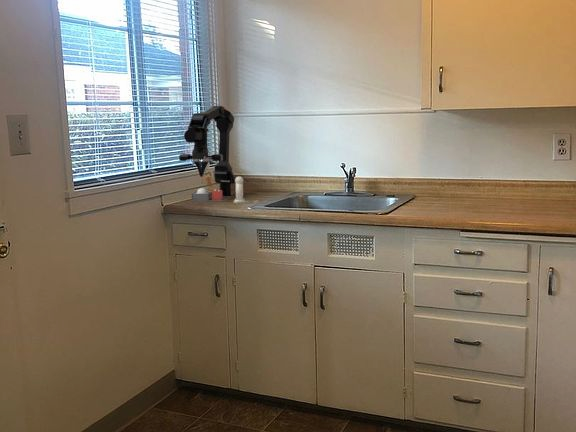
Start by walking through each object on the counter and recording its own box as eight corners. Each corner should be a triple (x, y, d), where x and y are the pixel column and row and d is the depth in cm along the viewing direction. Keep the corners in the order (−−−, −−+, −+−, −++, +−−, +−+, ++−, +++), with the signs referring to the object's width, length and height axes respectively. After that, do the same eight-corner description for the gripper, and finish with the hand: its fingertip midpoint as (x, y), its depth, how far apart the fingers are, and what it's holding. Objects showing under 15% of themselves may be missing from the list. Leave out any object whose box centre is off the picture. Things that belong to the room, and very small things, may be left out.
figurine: (221, 199, 301) (220, 173, 299) (214, 200, 296) (213, 174, 294) (206, 197, 305) (206, 172, 303) (199, 199, 300) (198, 173, 298)
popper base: (195, 200, 294) (195, 188, 293) (227, 201, 293) (227, 188, 292) (191, 203, 286) (190, 190, 285) (224, 204, 284) (224, 191, 284)
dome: (197, 197, 293) (196, 187, 292) (209, 197, 292) (209, 187, 291) (194, 199, 287) (193, 188, 286) (207, 199, 286) (207, 188, 285)
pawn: (235, 201, 284) (234, 175, 282) (245, 201, 284) (245, 175, 282) (233, 202, 280) (233, 176, 278) (244, 202, 279) (243, 176, 278)
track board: (235, 206, 278) (235, 203, 278) (230, 204, 284) (230, 201, 283) (270, 204, 285) (270, 201, 285) (264, 202, 291) (264, 199, 290)
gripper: (175, 142, 278) (176, 178, 280) (218, 142, 276) (218, 178, 279) (181, 141, 289) (182, 175, 291) (222, 141, 287) (223, 176, 290)
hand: (201, 176), depth 288 cm, fingers closed
